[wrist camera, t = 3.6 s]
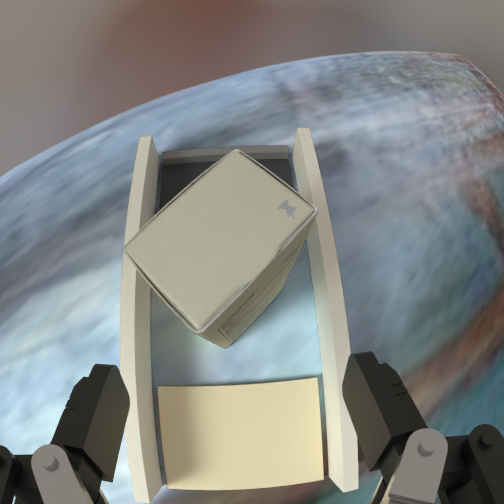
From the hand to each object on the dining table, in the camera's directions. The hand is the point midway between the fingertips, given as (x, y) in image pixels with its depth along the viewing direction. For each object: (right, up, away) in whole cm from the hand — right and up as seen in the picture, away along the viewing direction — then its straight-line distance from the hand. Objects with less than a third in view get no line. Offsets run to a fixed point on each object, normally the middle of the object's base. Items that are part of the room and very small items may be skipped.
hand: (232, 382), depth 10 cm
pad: (0, -8, +8) cm, 12 cm away
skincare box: (-1, +1, +12) cm, 12 cm away
